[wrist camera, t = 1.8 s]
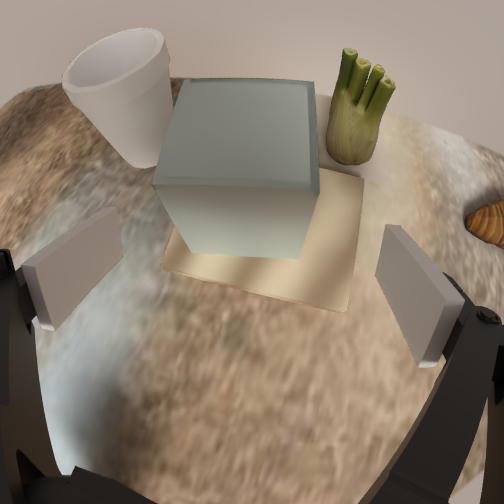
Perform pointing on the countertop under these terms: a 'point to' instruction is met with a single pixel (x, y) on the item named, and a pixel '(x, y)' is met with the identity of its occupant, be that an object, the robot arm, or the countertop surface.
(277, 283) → the board
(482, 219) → the croissant
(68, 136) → the countertop surface
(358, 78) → the fennel bulb
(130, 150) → the foam cup
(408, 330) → the robot arm
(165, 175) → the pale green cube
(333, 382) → the countertop surface
